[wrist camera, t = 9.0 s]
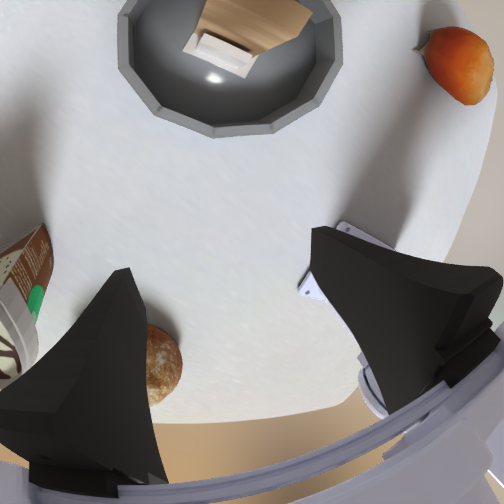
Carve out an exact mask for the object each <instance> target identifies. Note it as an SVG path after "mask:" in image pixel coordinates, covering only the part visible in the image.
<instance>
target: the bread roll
mask: <svg viewBox="0 0 504 504" xmlns="http://www.w3.org/2000/svg"><path fill="white" fill-rule="evenodd" d="M182 364H183V363H182V356H181V353H180V350H179V348H178V346H177V344H176V343H175V342H174V340H173V339H172V338H171V337H170V336H169V335H168V334H166V333H165V332H164V331H163V330H161V329H159V328H157V327H155V326H153V325H148V324H147V360H146V382H147V394H148V401H149V407H151V406H154V405H156V404H158V403H160V402H161V401H162V400H163V399H164V398H165V397H166V396H167V395H169V394H170V393H171V392H172V391H173V390H174V389H175V387H176V386H177V384H178V382H179V380H180V377H181V373H182Z"/></svg>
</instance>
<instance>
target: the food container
mask: <svg viewBox="0 0 504 504" xmlns="http://www.w3.org/2000/svg"><path fill="white" fill-rule="evenodd" d="M53 264H54V257H53V249H52V245H51V241H50V238H49V235H48V232H47V230H46V228H45V226H44V224H43V223H42V224H41V225H39V226H37V227H36V228H34V229H33V230H31V231H30V232H28V233H27V234H25V235H23V236H22V237H21V238H19V239H18V240H16V241H15V242H13V243H12V244H10V245H9V246H7V247H6V248H5V249H3V250H2V251H1V252H0V390H2V389H4V388H5V387H6V386H8V385H9V384H11V383H12V382H14V381H15V380H16V379H18V378H19V377H20V376H21V375H23V374H24V373H25V372H26V371H28V370H29V369H30V368H31V367H32V365H33V363H34V362H35V360H36V358H37V354H38V345H39V342H38V335H37V330H36V327H35V324H36V321H37V317H38V314H39V311H40V307H41V304H42V301H43V298H44V295H45V292H46V289H47V286H48V283H49V280H50V278H51V275H52V271H53Z"/></svg>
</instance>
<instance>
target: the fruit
mask: <svg viewBox="0 0 504 504" xmlns="http://www.w3.org/2000/svg"><path fill="white" fill-rule="evenodd" d="M428 32H429V34H430V39H429V41H428V42H427V43H426V45H425V46H424V47H422V48H421V49H420V50H415V49H413V51H415V52H418V53H420V54H422V55H423V57H424V59H425V62H426V65H427V68H428V70H429V72H430V74H431V76H432V77H433V78H434V79H435V81H436V82H437V83H438V84H439V85H440V86H441V87H442V88H444V89H445V90H446V91H447V92H448V93H449V94H450V95H451V96H452V97H454V98H455V99H456V100H458V101H459V102H461V103H462V104H464V105H476V104H477V103H478V102H480V101H481V100H482V99H483V98H484V97H485V96H486V95H487V93H488V91H489V89H490V83H491V81H493V80H492V76H493V71H494V69H493V67H494V60H493V58H492V56H491V53H490V50H489V47H488V45H487V43H486V42H485V41H484V40H483V39H481V38H480V37H479V36H478V35H476V34H474V33H473V32H471V31H469V30H466V29H463V28H459V27H453V26H452V27H445V28H440V29H436V30H433V31H428Z"/></svg>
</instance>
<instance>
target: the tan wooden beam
mask: <svg viewBox="0 0 504 504" xmlns="http://www.w3.org/2000/svg"><path fill="white" fill-rule="evenodd" d="M312 14H313V12H312V11H311V10H309V9H307V8H306V7H304V6H303V5H301V4H300V3H298V2H296V1H295V0H207V1H206V4H205V6H204V9H203V11H202V14H201V17H200V19H199V22H198V25H197V27H196V30H195V34H197V35H200V36H203V35H204V33H206V34H208V35H210V36H213V37H215V38H217V39H220V40H222V41H224V42H226V43H228V44H230V45H233V46H235V47H237V48H239V49H241V50H243V51H245V52H247V53H249V54H251V55H253V56H252V58H253V57H255V56H257V55H259V54H261V53H263V52H265V51H267V50H269V49H271V48H273V47H275V46H277V45H280V44H282V43H284V42H286V41H289V40H291V39H293V38H296V37H298V35H299V34H300V32H301V30H302V29H303V27H304V26H305V24H306V23H307V21H308V20H309V18H310V17H311V15H312Z"/></svg>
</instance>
